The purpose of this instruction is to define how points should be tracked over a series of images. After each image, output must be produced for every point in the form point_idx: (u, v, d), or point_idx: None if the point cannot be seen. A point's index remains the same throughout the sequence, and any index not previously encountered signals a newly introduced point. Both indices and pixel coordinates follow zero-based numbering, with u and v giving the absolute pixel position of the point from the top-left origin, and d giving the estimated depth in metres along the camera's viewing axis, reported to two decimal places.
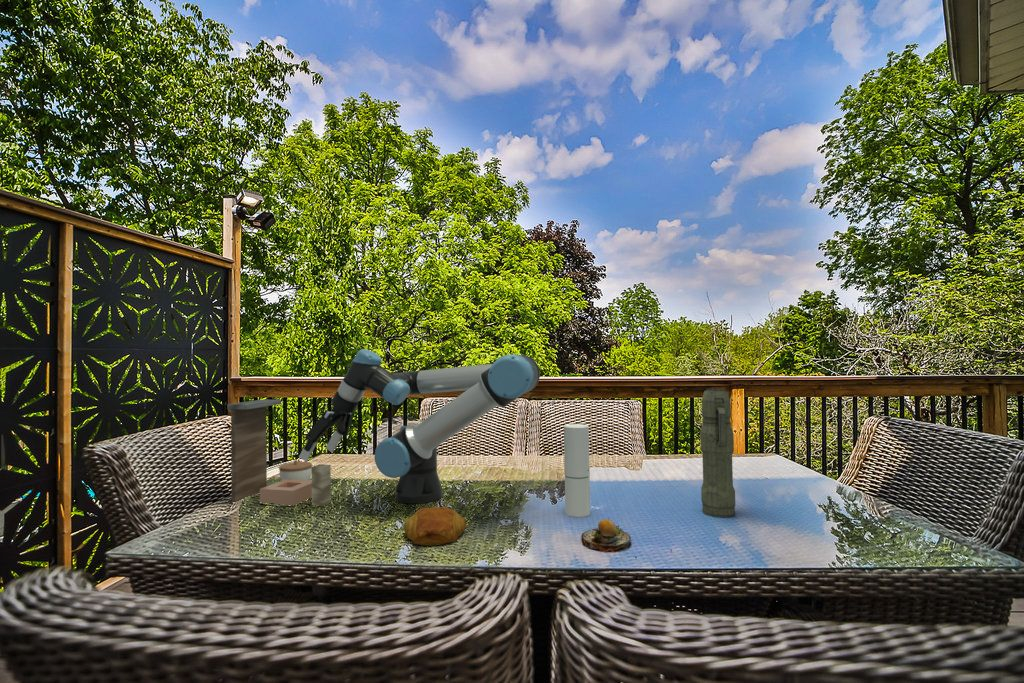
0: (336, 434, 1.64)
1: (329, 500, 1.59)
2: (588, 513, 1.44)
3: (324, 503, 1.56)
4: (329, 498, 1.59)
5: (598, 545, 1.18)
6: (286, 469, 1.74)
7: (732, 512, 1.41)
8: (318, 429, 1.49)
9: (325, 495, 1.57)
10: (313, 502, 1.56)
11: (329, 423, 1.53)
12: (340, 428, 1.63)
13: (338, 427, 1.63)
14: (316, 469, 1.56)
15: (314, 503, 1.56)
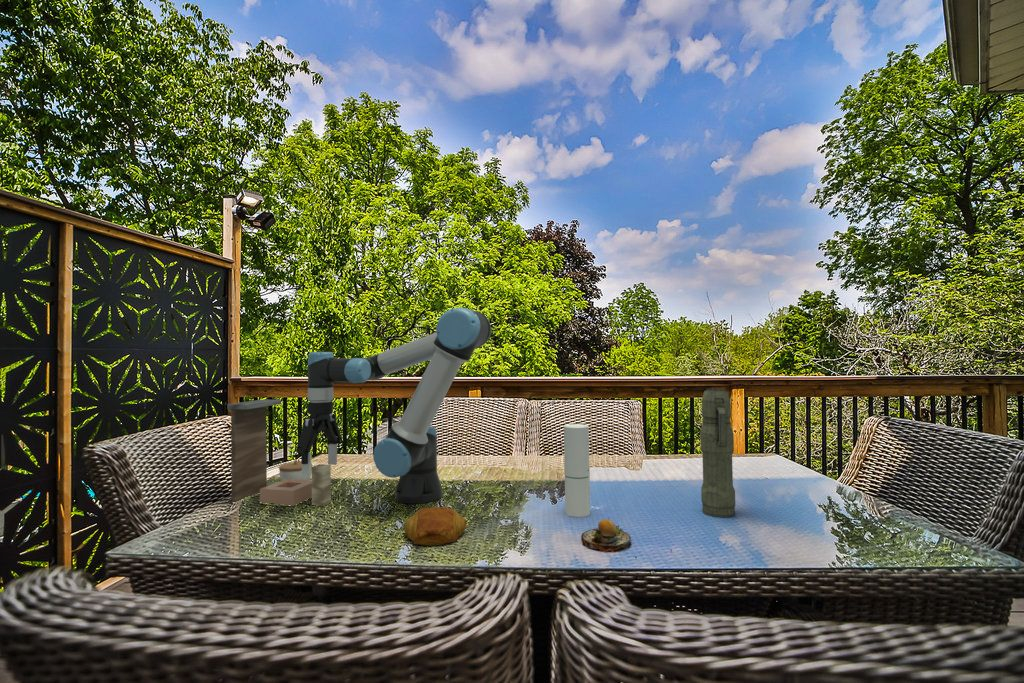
0: (331, 446, 1.65)
1: (329, 500, 1.59)
2: (588, 513, 1.44)
3: (324, 503, 1.56)
4: (329, 498, 1.59)
5: (598, 545, 1.18)
6: (286, 469, 1.74)
7: (732, 512, 1.41)
8: (305, 438, 1.50)
9: (325, 495, 1.57)
10: (313, 502, 1.56)
11: (314, 431, 1.54)
12: (331, 438, 1.64)
13: (329, 438, 1.64)
14: (316, 469, 1.56)
15: (314, 503, 1.56)
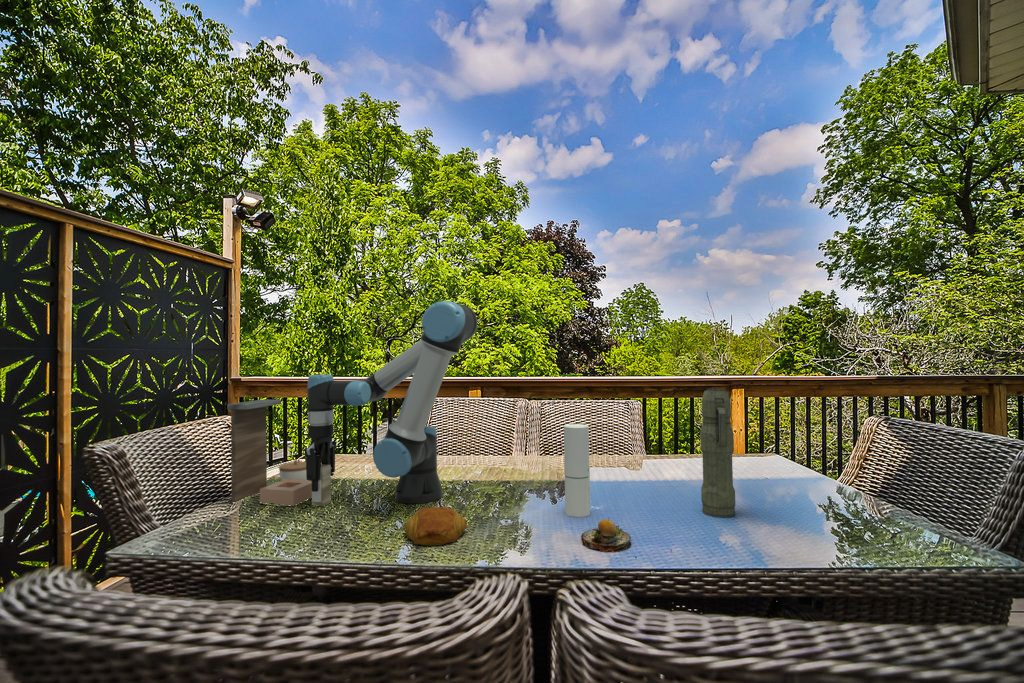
0: None
1: (329, 500, 1.59)
2: (588, 513, 1.44)
3: (324, 503, 1.56)
4: (329, 498, 1.59)
5: (598, 545, 1.18)
6: (286, 469, 1.74)
7: (732, 512, 1.41)
8: (311, 467, 1.52)
9: (325, 495, 1.57)
10: (313, 502, 1.56)
11: (318, 457, 1.55)
12: None
13: None
14: None
15: (314, 503, 1.56)
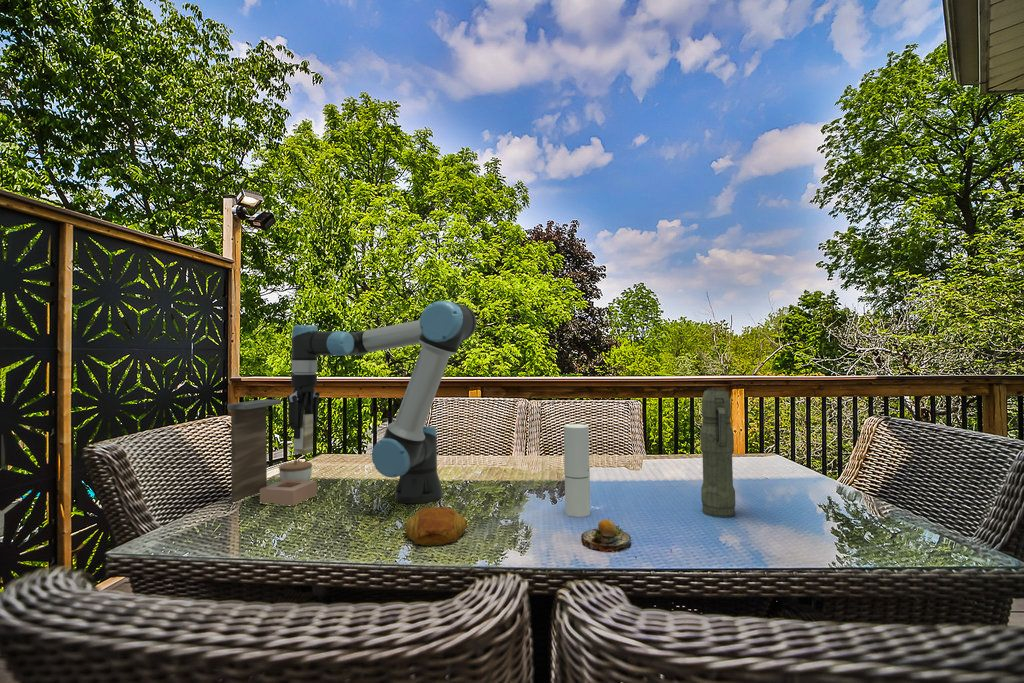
0: None
1: (311, 449, 1.62)
2: (588, 513, 1.44)
3: (305, 451, 1.59)
4: (311, 446, 1.61)
5: (598, 545, 1.18)
6: (286, 469, 1.74)
7: (732, 512, 1.41)
8: (293, 414, 1.55)
9: (307, 443, 1.60)
10: (295, 450, 1.59)
11: (300, 405, 1.58)
12: None
13: None
14: None
15: (296, 450, 1.59)
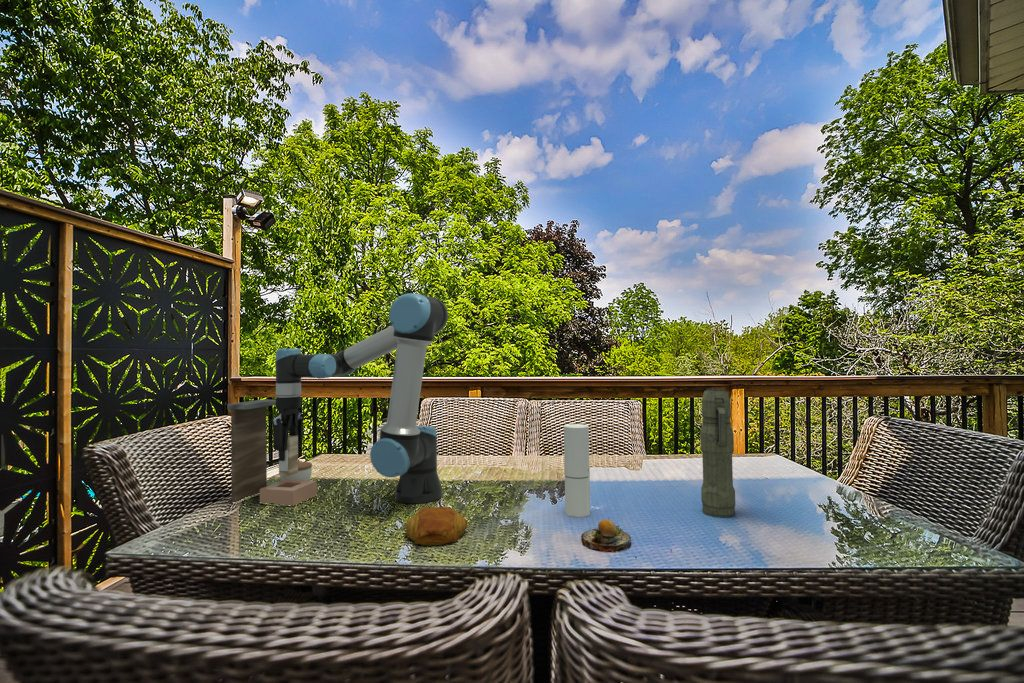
0: None
1: (296, 470, 1.64)
2: (588, 513, 1.44)
3: (290, 472, 1.61)
4: (296, 468, 1.64)
5: (598, 545, 1.18)
6: None
7: (732, 512, 1.41)
8: (278, 437, 1.57)
9: (292, 464, 1.62)
10: (280, 471, 1.61)
11: (285, 427, 1.61)
12: None
13: None
14: None
15: (281, 472, 1.61)
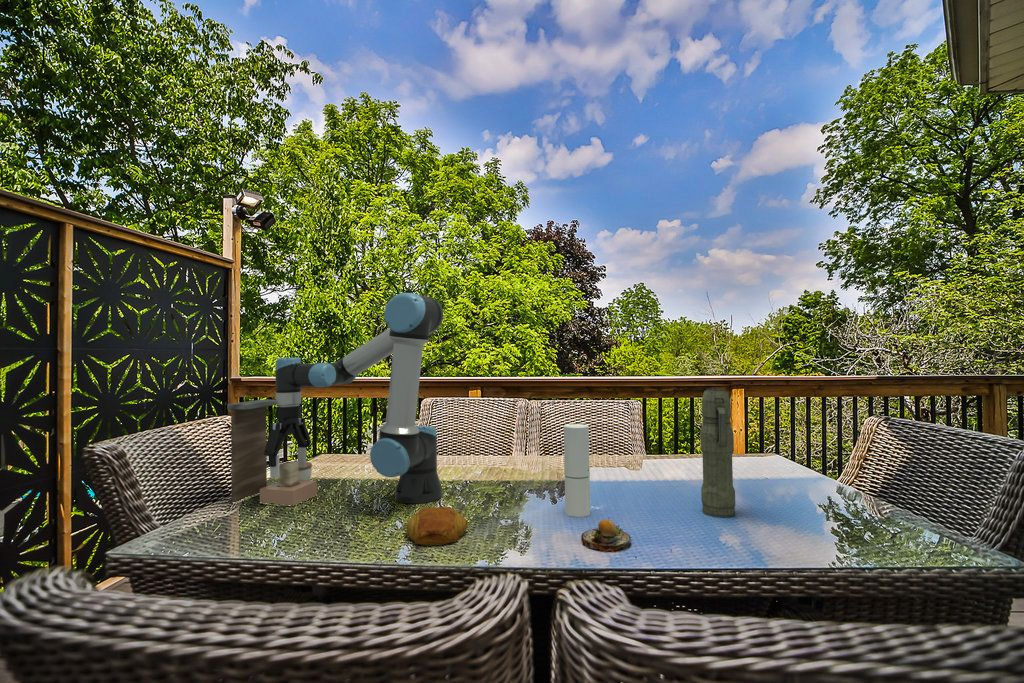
0: (300, 449, 1.69)
1: None
2: (588, 513, 1.44)
3: None
4: None
5: (598, 545, 1.18)
6: None
7: (732, 512, 1.41)
8: (272, 441, 1.55)
9: None
10: None
11: (282, 434, 1.59)
12: (300, 441, 1.68)
13: (298, 441, 1.69)
14: (283, 466, 1.61)
15: None
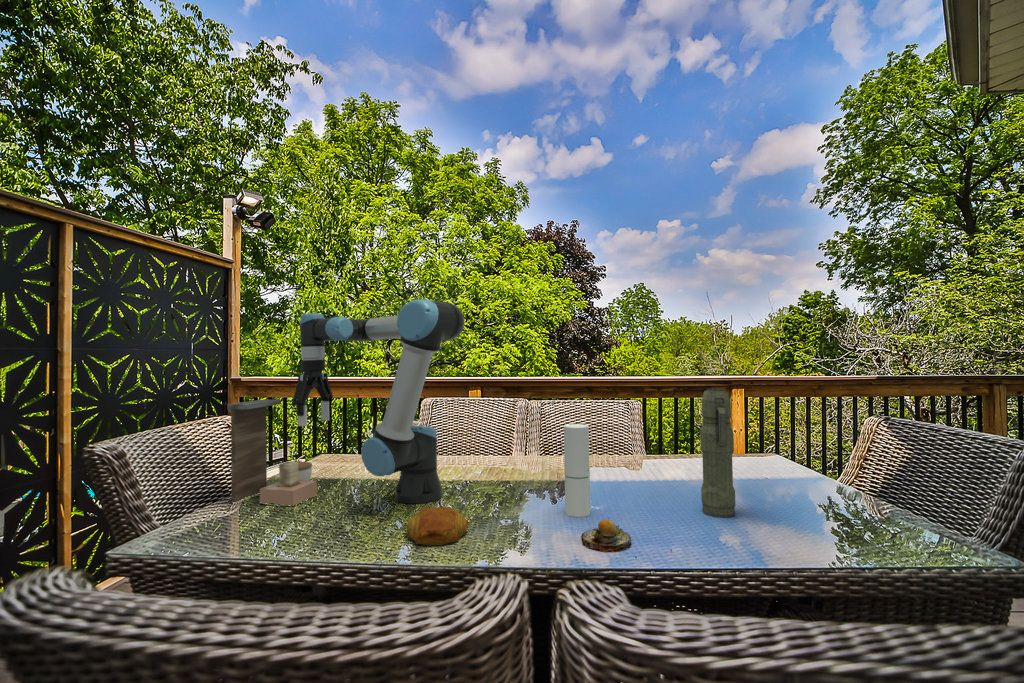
0: (323, 403, 1.76)
1: None
2: (588, 513, 1.44)
3: None
4: None
5: (598, 545, 1.18)
6: None
7: (732, 512, 1.41)
8: (300, 391, 1.61)
9: None
10: None
11: (308, 386, 1.66)
12: (323, 395, 1.75)
13: (321, 396, 1.76)
14: (283, 466, 1.61)
15: None
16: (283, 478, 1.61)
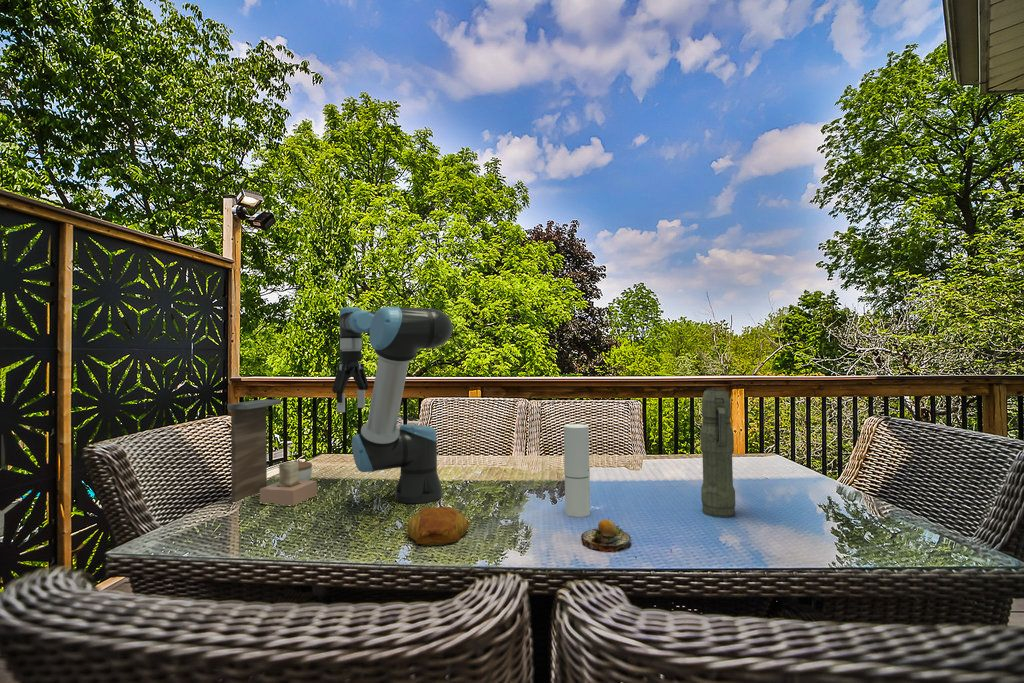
0: (360, 391, 1.88)
1: None
2: (588, 513, 1.44)
3: None
4: None
5: (598, 545, 1.18)
6: None
7: (732, 512, 1.41)
8: (339, 379, 1.73)
9: None
10: None
11: (346, 375, 1.78)
12: (360, 384, 1.87)
13: (358, 384, 1.87)
14: (283, 466, 1.61)
15: None
16: (283, 478, 1.61)
